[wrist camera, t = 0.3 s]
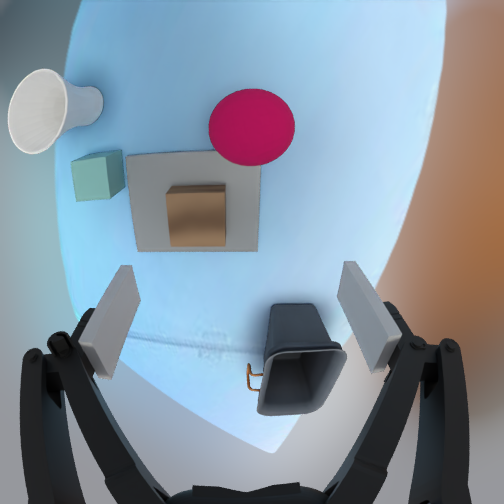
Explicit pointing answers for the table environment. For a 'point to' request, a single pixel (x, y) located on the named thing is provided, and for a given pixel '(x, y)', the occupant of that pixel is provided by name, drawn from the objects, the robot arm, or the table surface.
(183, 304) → the table surface
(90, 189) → the teal brick
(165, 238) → the build plate
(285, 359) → the storage bin
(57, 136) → the cup
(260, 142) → the toy
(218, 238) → the walnut brick
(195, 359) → the table surface
